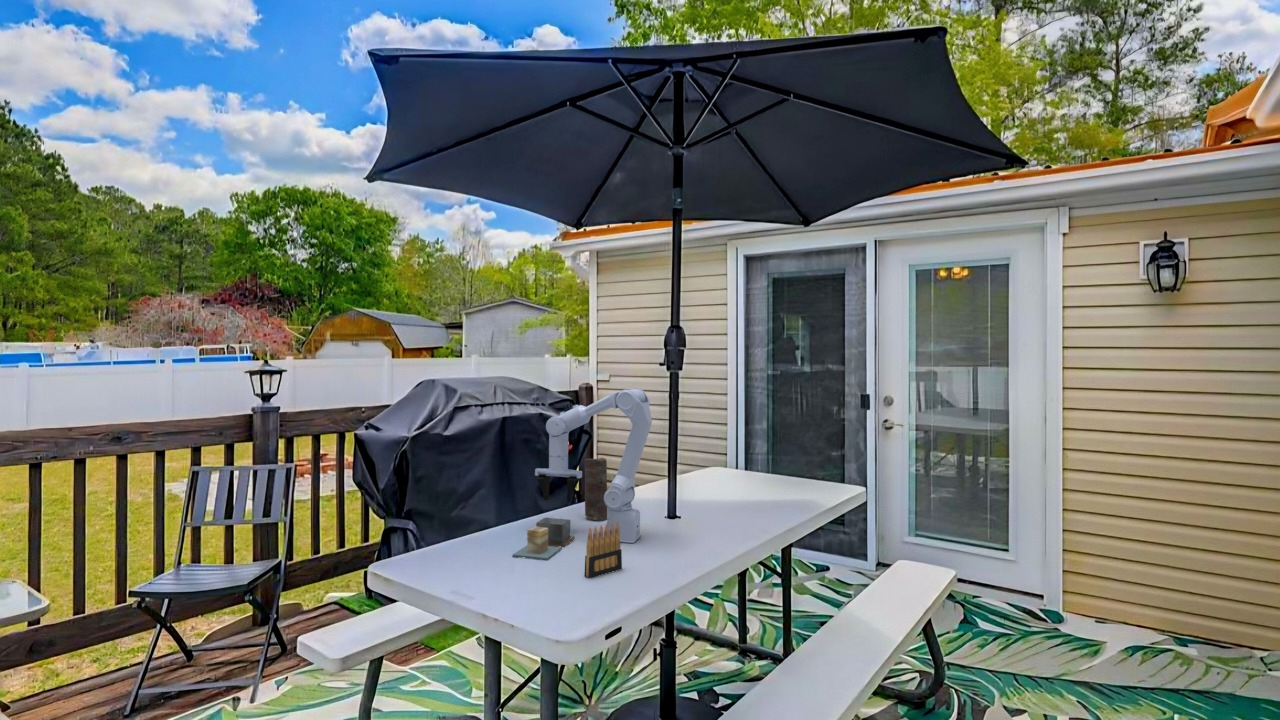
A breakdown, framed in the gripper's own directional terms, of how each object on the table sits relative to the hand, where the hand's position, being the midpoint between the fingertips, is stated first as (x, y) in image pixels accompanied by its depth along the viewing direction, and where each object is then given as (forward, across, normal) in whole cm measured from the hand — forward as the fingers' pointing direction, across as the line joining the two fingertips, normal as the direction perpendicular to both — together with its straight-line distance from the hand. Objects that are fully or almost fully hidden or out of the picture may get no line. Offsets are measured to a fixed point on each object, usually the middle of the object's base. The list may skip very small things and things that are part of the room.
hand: (558, 500), depth 204 cm
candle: (+10, -6, -18) cm, 21 cm away
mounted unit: (+9, -3, +11) cm, 15 cm away
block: (+9, -3, +22) cm, 24 cm away
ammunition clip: (+10, -25, +32) cm, 42 cm away
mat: (+9, -3, +22) cm, 24 cm away
